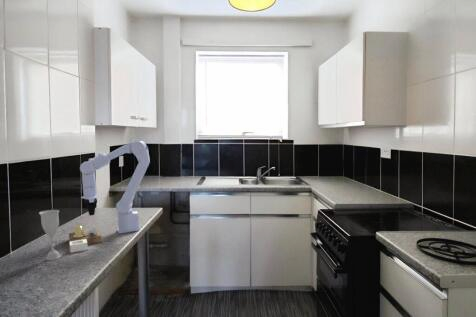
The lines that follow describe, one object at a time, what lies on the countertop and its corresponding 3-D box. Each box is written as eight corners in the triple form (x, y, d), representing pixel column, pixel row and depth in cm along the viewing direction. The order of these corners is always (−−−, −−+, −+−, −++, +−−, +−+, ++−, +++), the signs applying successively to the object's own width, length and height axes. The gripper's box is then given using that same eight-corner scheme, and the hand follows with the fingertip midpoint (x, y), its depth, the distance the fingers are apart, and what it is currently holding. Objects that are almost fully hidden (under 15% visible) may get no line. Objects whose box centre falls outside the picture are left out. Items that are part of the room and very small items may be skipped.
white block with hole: (86, 245, 153) (86, 238, 153) (87, 249, 148) (87, 242, 147) (70, 248, 150) (69, 241, 150) (70, 252, 145) (69, 245, 145)
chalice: (67, 255, 142) (63, 210, 141) (53, 261, 136) (49, 214, 134) (53, 253, 144) (49, 209, 143) (38, 260, 138) (34, 213, 137)
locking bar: (95, 228, 168) (95, 224, 168) (97, 234, 158) (97, 230, 158) (82, 230, 166) (82, 226, 165) (84, 236, 156) (83, 232, 156)
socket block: (98, 235, 169) (98, 228, 168) (101, 242, 157) (101, 235, 157) (69, 239, 163) (68, 233, 163) (70, 247, 152) (69, 240, 151)
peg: (85, 240, 160) (83, 224, 159) (85, 242, 156) (84, 226, 155) (73, 241, 158) (72, 226, 157) (74, 244, 154) (72, 228, 153)
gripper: (79, 185, 175) (81, 213, 176) (81, 189, 162) (83, 219, 163) (95, 184, 178) (97, 211, 179) (97, 187, 165) (100, 217, 166)
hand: (91, 215), depth 172 cm, fingers closed
